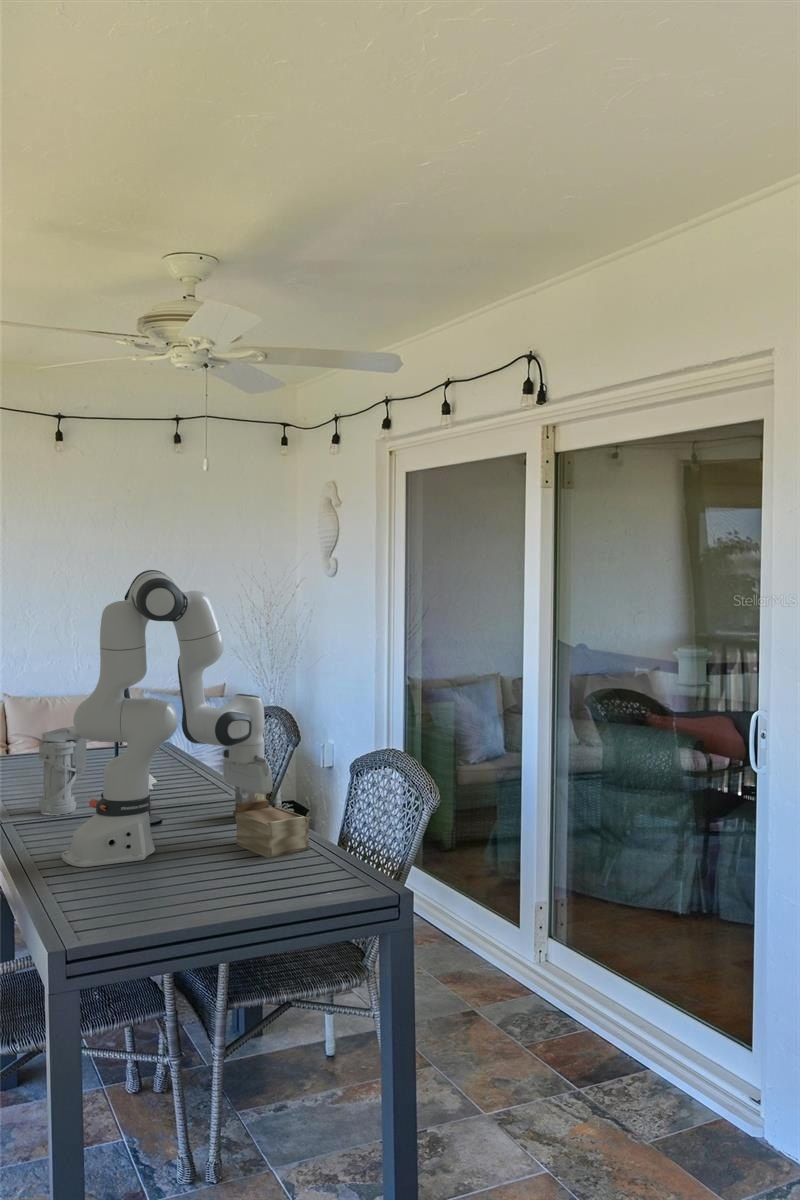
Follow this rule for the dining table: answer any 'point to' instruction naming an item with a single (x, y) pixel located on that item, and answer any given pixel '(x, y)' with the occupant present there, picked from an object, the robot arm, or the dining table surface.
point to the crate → (273, 835)
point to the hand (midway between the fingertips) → (247, 805)
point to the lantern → (61, 768)
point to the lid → (261, 811)
